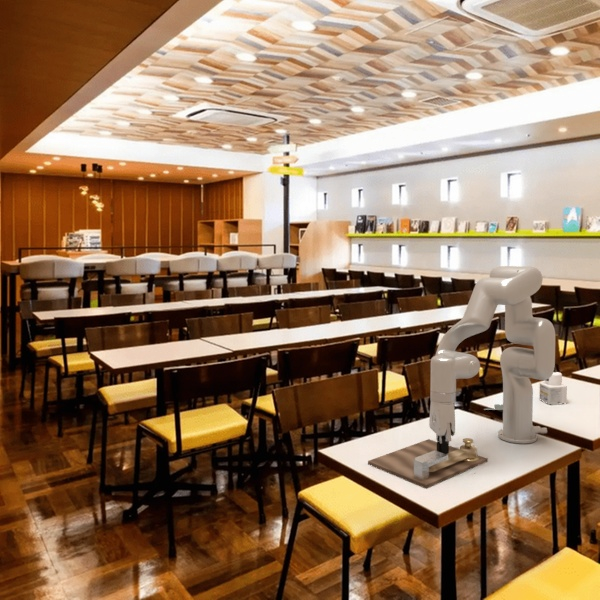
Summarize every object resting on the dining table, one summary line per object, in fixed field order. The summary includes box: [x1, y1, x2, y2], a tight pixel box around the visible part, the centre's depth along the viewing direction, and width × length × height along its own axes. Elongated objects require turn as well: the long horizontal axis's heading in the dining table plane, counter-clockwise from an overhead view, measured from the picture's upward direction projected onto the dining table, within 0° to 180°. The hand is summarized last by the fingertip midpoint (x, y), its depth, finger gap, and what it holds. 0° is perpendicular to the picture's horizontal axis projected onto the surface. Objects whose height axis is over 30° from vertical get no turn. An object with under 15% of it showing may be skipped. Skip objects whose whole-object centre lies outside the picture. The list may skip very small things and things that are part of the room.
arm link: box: [429, 444, 477, 472], centre depth 168 cm, size 22×5×2 cm, turn 127°
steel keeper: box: [414, 450, 448, 480], centre depth 162 cm, size 10×5×5 cm, turn 128°
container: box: [539, 370, 568, 405], centre depth 232 cm, size 8×8×13 cm
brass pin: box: [462, 437, 479, 462], centre depth 173 cm, size 6×6×6 cm
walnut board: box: [367, 438, 488, 489], centre depth 172 cm, size 29×23×1 cm
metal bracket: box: [483, 403, 503, 411], centre depth 219 cm, size 14×6×15 cm
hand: (442, 454), depth 170 cm, fingers closed
